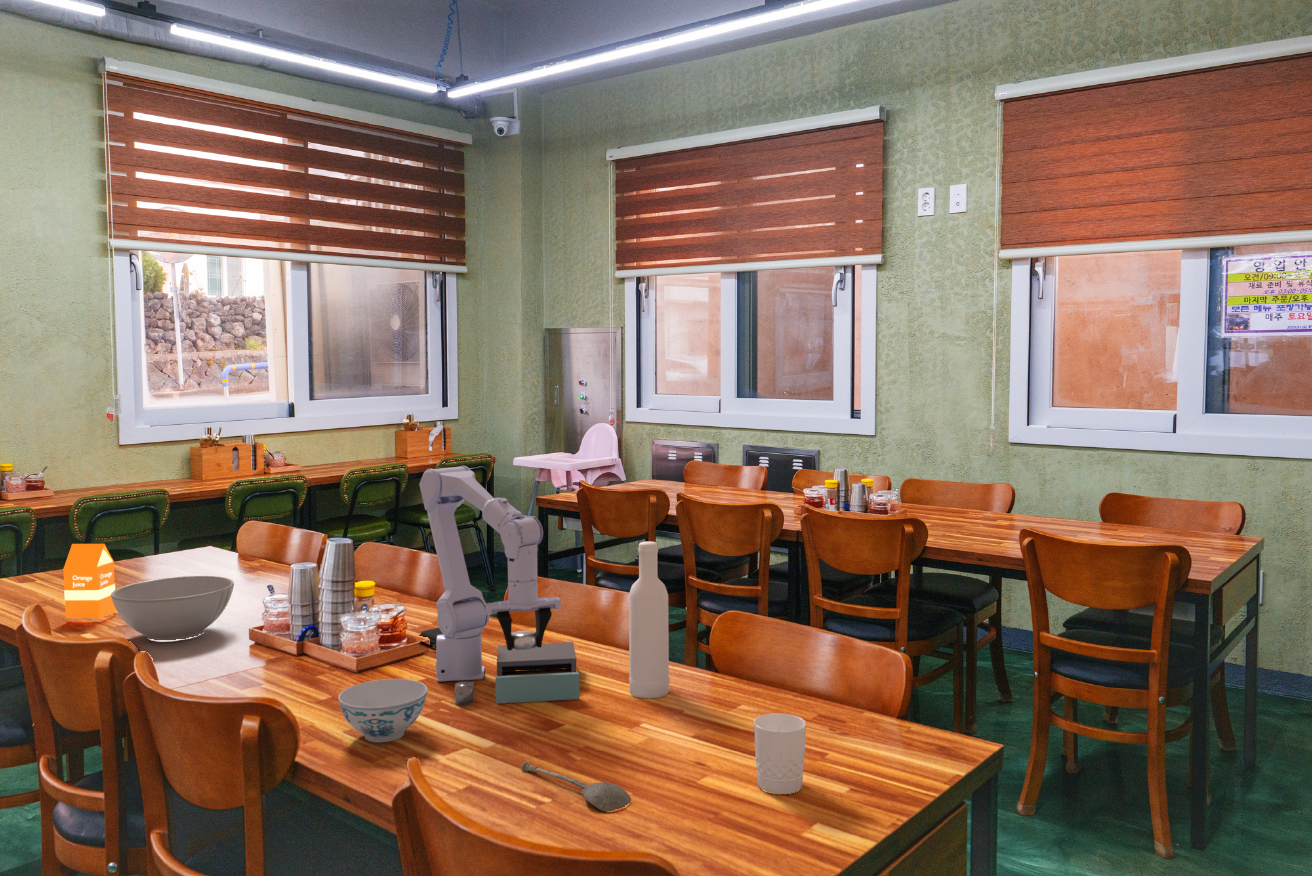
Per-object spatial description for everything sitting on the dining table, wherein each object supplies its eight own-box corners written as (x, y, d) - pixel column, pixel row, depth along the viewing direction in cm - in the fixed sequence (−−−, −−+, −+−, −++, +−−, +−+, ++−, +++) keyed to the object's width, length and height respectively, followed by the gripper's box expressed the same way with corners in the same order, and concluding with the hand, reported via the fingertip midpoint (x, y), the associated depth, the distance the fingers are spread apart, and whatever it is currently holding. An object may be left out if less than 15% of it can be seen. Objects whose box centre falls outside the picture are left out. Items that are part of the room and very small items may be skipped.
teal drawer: (495, 703, 183) (495, 678, 183) (497, 683, 195) (497, 659, 194) (579, 699, 185) (579, 673, 185) (575, 679, 197) (575, 656, 196)
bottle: (677, 691, 189) (676, 542, 187) (650, 702, 184) (649, 547, 182) (648, 683, 195) (647, 537, 193) (620, 692, 189) (619, 543, 187)
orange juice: (99, 623, 246) (95, 546, 245) (65, 623, 246) (61, 546, 245) (116, 615, 254) (113, 541, 253) (83, 615, 254) (80, 541, 253)
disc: (507, 644, 189) (507, 632, 189) (533, 641, 191) (533, 629, 191) (514, 651, 184) (513, 638, 184) (540, 647, 186) (539, 635, 186)
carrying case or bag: (410, 644, 226) (443, 657, 215) (410, 631, 226) (442, 644, 215) (450, 635, 233) (483, 647, 223) (450, 623, 233) (483, 634, 223)
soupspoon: (608, 825, 136) (639, 811, 141) (610, 802, 136) (641, 789, 141) (509, 777, 150) (540, 766, 155) (510, 756, 150) (541, 746, 155)
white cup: (749, 776, 149) (749, 714, 149) (799, 774, 150) (799, 712, 149) (759, 798, 142) (759, 732, 141) (811, 796, 142) (811, 730, 142)
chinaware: (444, 725, 172) (443, 683, 172) (396, 756, 158) (395, 711, 158) (374, 716, 177) (373, 675, 177) (321, 746, 163) (319, 701, 163)
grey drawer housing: (497, 688, 192) (496, 662, 192) (498, 670, 204) (498, 645, 204) (576, 684, 194) (576, 658, 194) (573, 667, 206) (573, 642, 206)
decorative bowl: (258, 630, 238) (256, 583, 237) (152, 658, 215) (150, 605, 214) (195, 617, 252) (193, 571, 251) (90, 641, 229) (88, 591, 229)
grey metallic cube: (454, 706, 182) (454, 688, 182) (456, 699, 186) (455, 682, 186) (473, 704, 183) (473, 687, 183) (474, 698, 186) (474, 681, 186)
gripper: (488, 586, 181) (490, 656, 181) (563, 580, 185) (564, 649, 186) (483, 579, 187) (484, 647, 188) (555, 573, 192) (556, 639, 193)
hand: (524, 647), depth 188 cm, fingers closed on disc, 5 cm apart
